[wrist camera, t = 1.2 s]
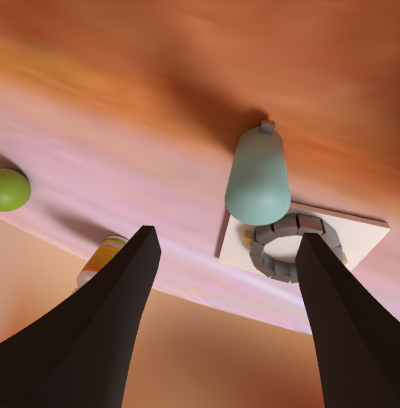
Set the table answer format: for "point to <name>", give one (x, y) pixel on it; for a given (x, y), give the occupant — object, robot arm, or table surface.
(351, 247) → the collar plate
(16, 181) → the snail figurine
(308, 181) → the table surface
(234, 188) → the teal peg
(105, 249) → the supplement bottle
